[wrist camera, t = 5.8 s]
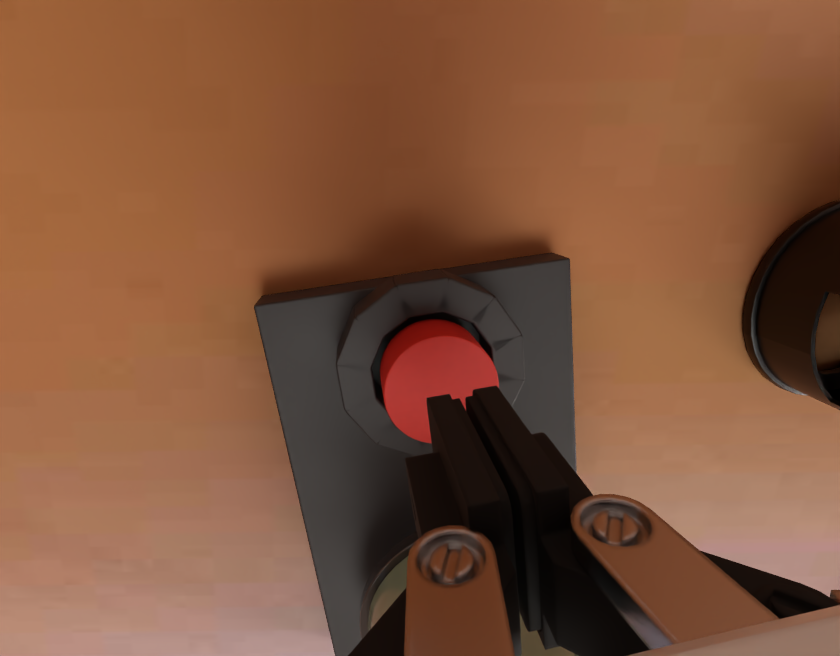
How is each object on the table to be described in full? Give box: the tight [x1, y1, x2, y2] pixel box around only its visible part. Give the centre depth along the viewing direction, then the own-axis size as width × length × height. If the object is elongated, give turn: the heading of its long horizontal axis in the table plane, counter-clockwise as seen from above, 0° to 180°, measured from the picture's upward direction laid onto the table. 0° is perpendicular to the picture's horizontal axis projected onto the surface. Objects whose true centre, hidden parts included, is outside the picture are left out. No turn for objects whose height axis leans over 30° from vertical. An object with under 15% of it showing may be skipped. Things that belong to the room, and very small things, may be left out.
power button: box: [380, 319, 499, 443], centre depth 17 cm, size 4×4×2 cm
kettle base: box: [254, 253, 576, 656], centre depth 21 cm, size 18×12×4 cm, turn 7°
